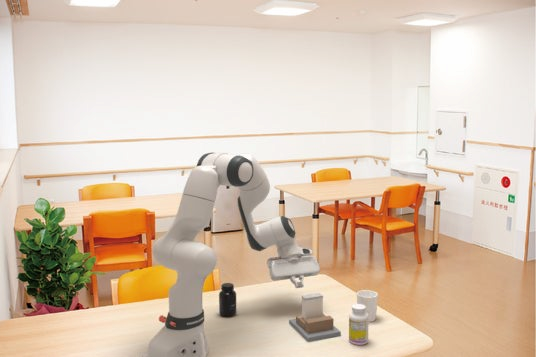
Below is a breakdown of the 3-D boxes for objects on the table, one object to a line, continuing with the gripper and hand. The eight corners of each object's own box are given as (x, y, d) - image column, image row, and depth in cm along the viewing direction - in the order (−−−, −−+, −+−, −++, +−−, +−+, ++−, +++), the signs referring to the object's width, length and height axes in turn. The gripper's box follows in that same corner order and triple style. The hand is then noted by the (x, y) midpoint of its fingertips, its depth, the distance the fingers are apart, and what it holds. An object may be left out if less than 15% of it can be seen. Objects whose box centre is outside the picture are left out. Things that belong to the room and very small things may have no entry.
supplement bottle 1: (236, 317, 208) (235, 287, 206) (218, 317, 208) (217, 288, 206) (237, 310, 215) (236, 281, 213) (220, 310, 215) (219, 281, 213)
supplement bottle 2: (355, 335, 192) (355, 301, 190) (371, 340, 187) (372, 305, 185) (345, 342, 186) (345, 307, 184) (362, 347, 182) (362, 311, 180)
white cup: (353, 320, 204) (354, 295, 203) (360, 312, 211) (360, 288, 209) (373, 324, 200) (374, 298, 199) (379, 316, 207) (380, 291, 206)
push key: (323, 323, 198) (323, 295, 196) (305, 326, 195) (305, 298, 194) (319, 319, 201) (319, 292, 199) (301, 322, 198) (301, 295, 197)
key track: (340, 335, 191) (340, 321, 191) (307, 341, 187) (307, 327, 186) (320, 318, 207) (320, 304, 206) (289, 323, 202) (289, 309, 201)
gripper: (267, 254, 208) (276, 286, 200) (315, 249, 215) (326, 280, 207) (263, 262, 212) (272, 294, 205) (310, 257, 220) (320, 287, 212)
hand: (299, 287), depth 206 cm, fingers closed
